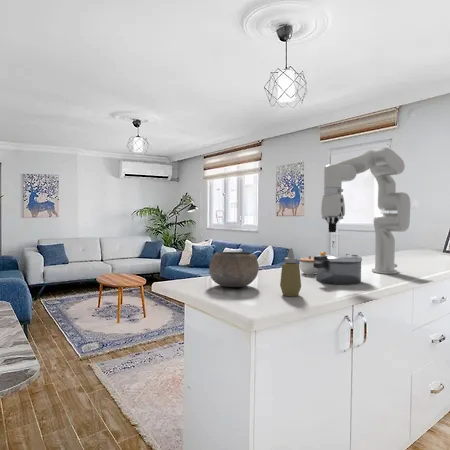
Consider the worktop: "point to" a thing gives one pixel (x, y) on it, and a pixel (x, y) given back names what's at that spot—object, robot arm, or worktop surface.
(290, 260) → the squeeze bottle
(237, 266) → the clay pot
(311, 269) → the lidded jar
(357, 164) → the robot arm
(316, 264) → the cooker pot
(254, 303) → the worktop surface
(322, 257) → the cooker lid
